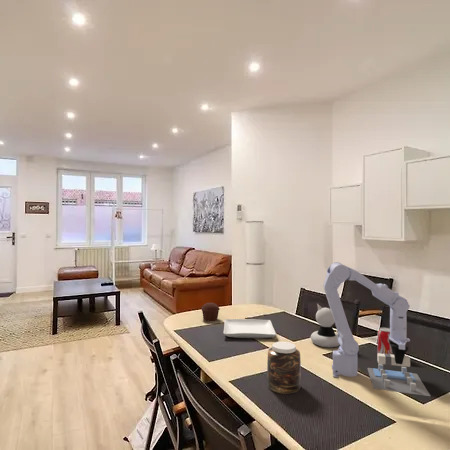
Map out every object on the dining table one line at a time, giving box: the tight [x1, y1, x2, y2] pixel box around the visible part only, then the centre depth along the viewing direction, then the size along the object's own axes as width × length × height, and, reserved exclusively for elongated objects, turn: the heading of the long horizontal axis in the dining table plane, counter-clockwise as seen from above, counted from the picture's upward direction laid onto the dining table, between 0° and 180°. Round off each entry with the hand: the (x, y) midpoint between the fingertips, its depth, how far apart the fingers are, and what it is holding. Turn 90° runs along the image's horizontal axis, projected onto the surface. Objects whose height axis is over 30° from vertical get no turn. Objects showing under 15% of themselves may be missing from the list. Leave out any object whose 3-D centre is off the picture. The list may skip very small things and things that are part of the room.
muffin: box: [200, 302, 221, 322], centre depth 207 cm, size 12×11×10 cm
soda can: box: [376, 326, 393, 355], centre depth 151 cm, size 7×7×12 cm
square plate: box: [223, 318, 277, 339], centre depth 183 cm, size 27×27×4 cm
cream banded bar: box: [376, 352, 411, 368], centre depth 129 cm, size 11×3×3 cm, turn 73°
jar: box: [266, 341, 302, 395], centre depth 121 cm, size 12×12×15 cm
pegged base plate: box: [367, 363, 431, 397], centre depth 124 cm, size 18×18×4 cm
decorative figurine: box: [310, 303, 340, 348], centre depth 166 cm, size 15×15×20 cm
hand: (397, 361), depth 128 cm, fingers closed on cream banded bar, 3 cm apart
